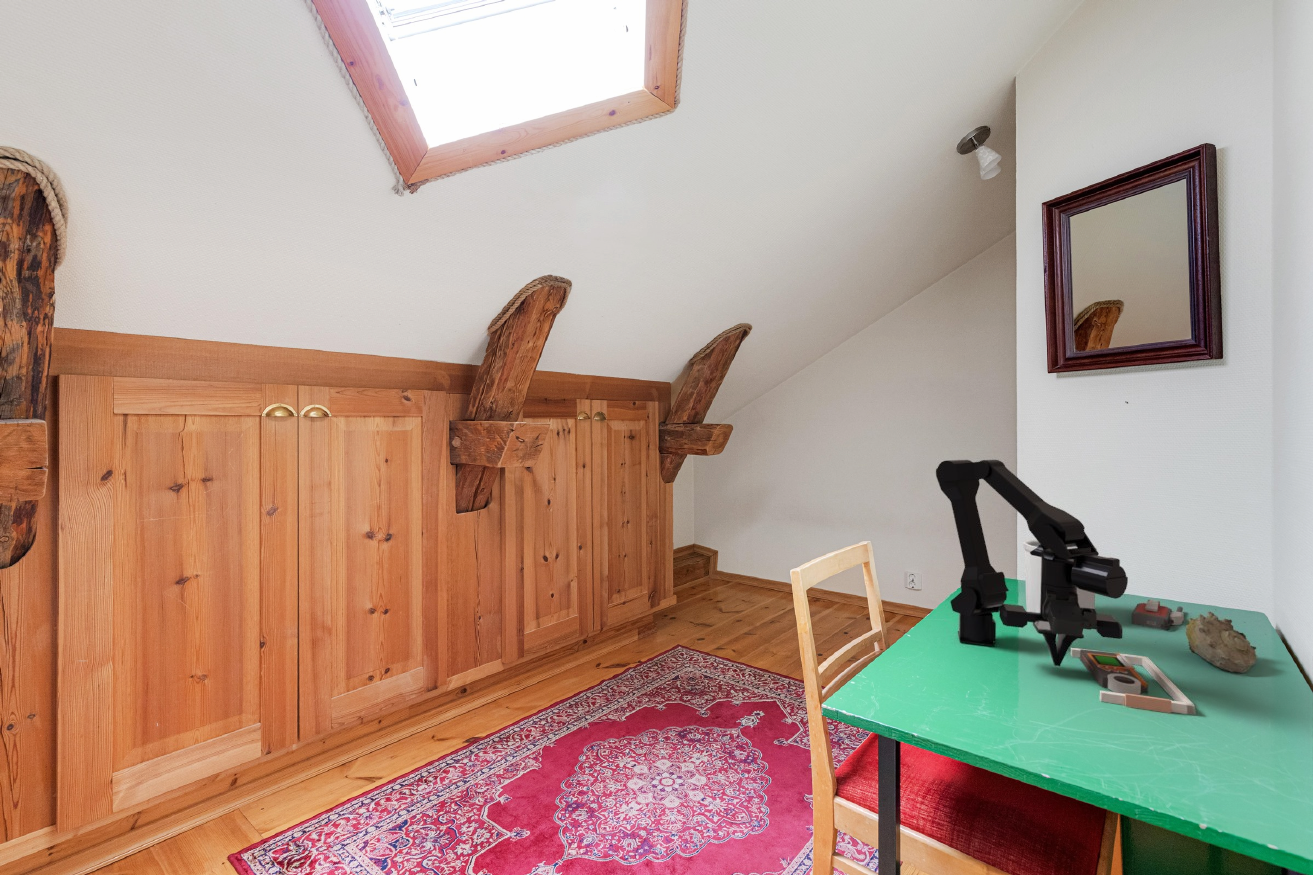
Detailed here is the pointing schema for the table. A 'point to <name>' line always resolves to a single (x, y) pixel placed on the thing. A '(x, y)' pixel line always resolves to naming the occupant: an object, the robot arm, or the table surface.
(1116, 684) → the electronic device
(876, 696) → the table surface
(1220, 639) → the seashell
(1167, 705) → the docking bay
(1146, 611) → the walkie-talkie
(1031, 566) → the utensil holder
